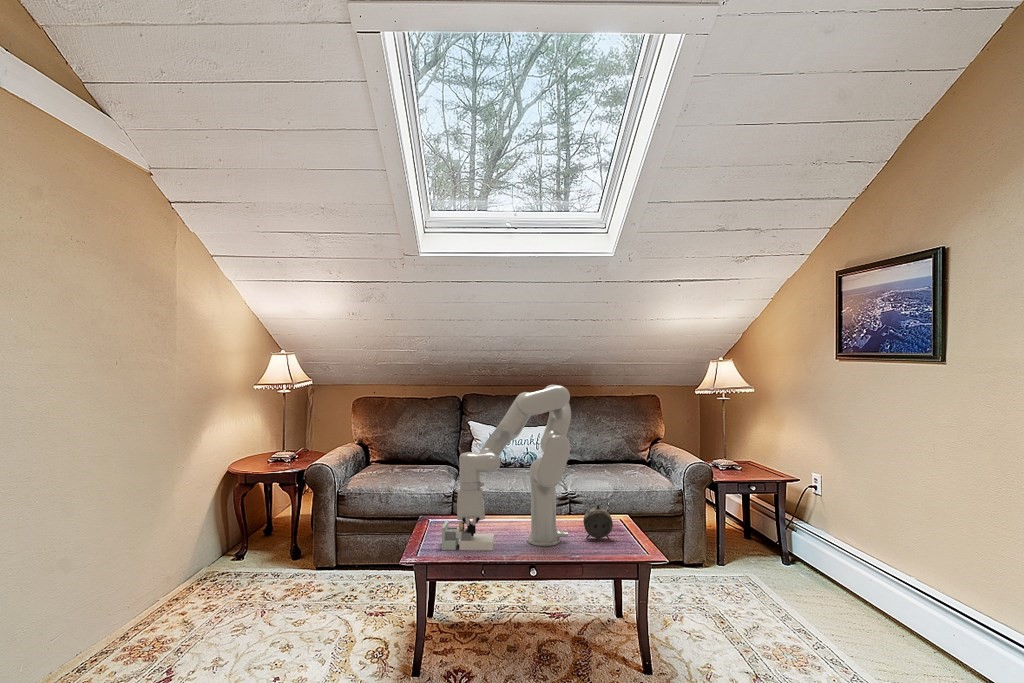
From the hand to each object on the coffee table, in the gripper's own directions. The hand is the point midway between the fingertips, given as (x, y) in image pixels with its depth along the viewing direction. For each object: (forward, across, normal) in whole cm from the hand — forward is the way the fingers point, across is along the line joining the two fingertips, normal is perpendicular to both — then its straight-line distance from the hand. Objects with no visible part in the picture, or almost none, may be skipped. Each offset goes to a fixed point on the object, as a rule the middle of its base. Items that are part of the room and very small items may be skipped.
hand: (471, 535), depth 209 cm
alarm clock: (+6, -48, -8) cm, 49 cm away
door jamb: (+4, +8, 0) cm, 9 cm away
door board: (+4, -2, 0) cm, 4 cm away
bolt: (+1, +6, 0) cm, 6 cm away
